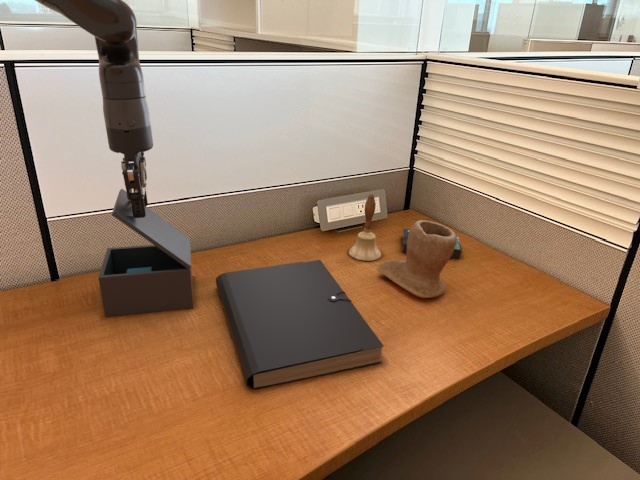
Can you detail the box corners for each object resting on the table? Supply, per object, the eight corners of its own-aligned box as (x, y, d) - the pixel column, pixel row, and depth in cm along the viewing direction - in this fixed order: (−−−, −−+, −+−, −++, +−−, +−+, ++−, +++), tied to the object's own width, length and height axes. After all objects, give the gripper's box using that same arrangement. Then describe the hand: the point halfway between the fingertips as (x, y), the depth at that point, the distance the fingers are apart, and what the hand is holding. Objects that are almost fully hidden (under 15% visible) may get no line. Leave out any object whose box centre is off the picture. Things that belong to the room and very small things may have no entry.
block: (128, 300, 97) (124, 280, 95) (130, 288, 101) (127, 268, 99) (152, 298, 98) (150, 278, 96) (154, 286, 102) (151, 266, 100)
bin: (105, 317, 93) (98, 277, 89) (113, 284, 104) (107, 248, 100) (193, 308, 97) (190, 270, 93) (192, 277, 108) (189, 242, 104)
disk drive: (402, 253, 124) (461, 259, 122) (403, 244, 123) (462, 249, 121) (401, 237, 133) (456, 242, 131) (403, 228, 132) (458, 232, 130)
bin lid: (111, 214, 85) (129, 194, 84) (119, 191, 96) (135, 173, 95) (188, 269, 93) (206, 251, 92) (187, 241, 104) (203, 225, 103)
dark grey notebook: (385, 343, 82) (245, 373, 75) (383, 362, 84) (246, 393, 77) (320, 258, 110) (215, 272, 103) (320, 273, 112) (216, 289, 104)
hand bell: (371, 244, 127) (376, 187, 121) (387, 258, 121) (394, 198, 114) (343, 249, 124) (347, 191, 117) (358, 263, 117) (363, 202, 111)
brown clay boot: (458, 292, 107) (470, 231, 101) (419, 306, 101) (429, 242, 95) (412, 264, 118) (420, 207, 112) (374, 275, 112) (381, 216, 106)
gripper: (110, 115, 90) (124, 199, 98) (99, 132, 78) (115, 228, 85) (152, 114, 92) (162, 197, 99) (147, 131, 80) (159, 224, 87)
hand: (140, 211), depth 92 cm, fingers closed on bin lid, 5 cm apart
